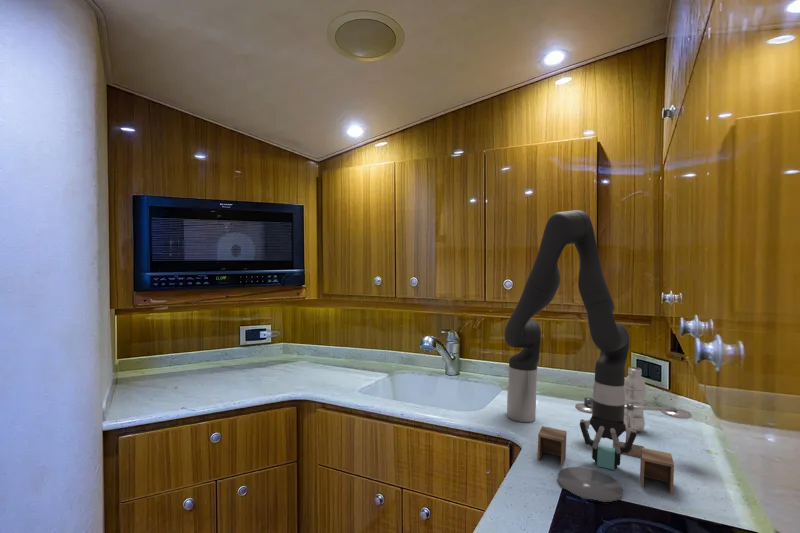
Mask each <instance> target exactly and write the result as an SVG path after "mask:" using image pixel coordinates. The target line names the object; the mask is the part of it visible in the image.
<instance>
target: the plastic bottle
mask: <svg viewBox="0 0 800 533" xmlns="http://www.w3.org/2000/svg"><path fill="white" fill-rule="evenodd" d="M642 372H643V371H642V368H640V367H636V366H629V367H628V371H627V374H628V375H627V376H626V377H625V382H624V388H625V405H627V404H632V405H633V406H644V399H645V394H646V388H647V385H646V382H645V381H644V379H643V377H642V376H643V374H642ZM626 420H627V409H624V423H625V425H626ZM645 424H646V423H645V417H644V410H633V429H634V430H636V433H639V432H643V430H644V429H645Z"/></svg>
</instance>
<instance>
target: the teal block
mask: <svg viewBox="0 0 800 533" xmlns="http://www.w3.org/2000/svg"><path fill="white" fill-rule="evenodd" d="M614 462H615V448H613V447H609V446H605V445H600V444H598V454H597V463H596V467H600V468H604V469H605V468H606V469H608V470H613V471H614V470H615V467H614Z"/></svg>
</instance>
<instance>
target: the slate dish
mask: <svg viewBox="0 0 800 533" xmlns="http://www.w3.org/2000/svg"><path fill="white" fill-rule="evenodd" d="M557 483H558V484H559V486H560V487H561V489H563V488H564V489H566V490H568V491H570V492H571V493H573V494H575V495H577V496H580V497H583V498H587V499H593V500H598V501H602V502H612V501H616V502H618V501H619V500H620V499H622V496H623V487H622V486H621V484H620V483H619V482H618V480H616V479H615V478H614V477H611V475H609V474H606V473H604V472H602V471H599V470H597V469H594V468H593V469H592V468H588V467H582V466H572V467H571V466H570V467H568V466H567V467H565V468H562V469H561V470H559V472H558V473H557ZM564 489H563V490H564ZM617 500H618V501H617ZM612 503H613V502H612Z"/></svg>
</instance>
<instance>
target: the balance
mask: <svg viewBox="0 0 800 533" xmlns="http://www.w3.org/2000/svg"><path fill="white" fill-rule="evenodd" d="M583 401H584V402H582V403H581V402H579V403H576V404H574V406H575V408H574V409H576V411H578V412H580V413H585V414H590V415H592V406H593V397H592V398H591V397H584V398H583ZM624 409H627V420H626V427H627V428H629V429H631V430H632V429H633V410H643V411H656V412H657V411H659V412H661V414H663V415H666V416H669V417H670V418H671V417H672V418H676V419H681V420H682V419H684V420H688V419H691V418H692V413H691V412H690V411H688V410H686V409H683V408H678V407H672V406H649V405H647V406H646V405H645V406H644V405H643V406H633V405H632V404H627V405H625V408H624ZM627 438H628V437H627V436H626V435H625V441H626V440H627ZM619 443H620V446H624V444H625V442H623V441H619ZM641 447H642V448H645V446H644V445H639V444H634V443H633V444H632V446H631V449H630V451H629V453H621V455H627V456H631V457H635V458H636V457H637V458H640V459H641ZM612 448H615V447H614V443H613V442H612Z"/></svg>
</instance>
